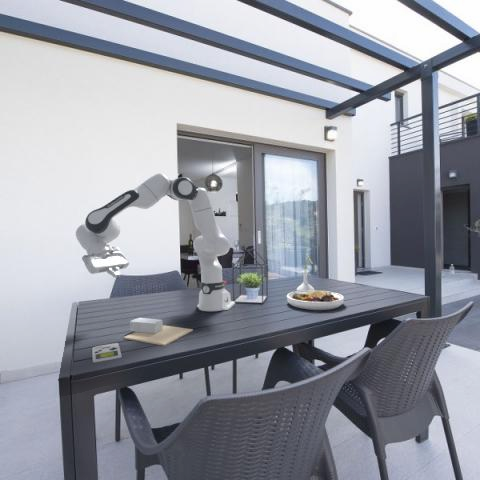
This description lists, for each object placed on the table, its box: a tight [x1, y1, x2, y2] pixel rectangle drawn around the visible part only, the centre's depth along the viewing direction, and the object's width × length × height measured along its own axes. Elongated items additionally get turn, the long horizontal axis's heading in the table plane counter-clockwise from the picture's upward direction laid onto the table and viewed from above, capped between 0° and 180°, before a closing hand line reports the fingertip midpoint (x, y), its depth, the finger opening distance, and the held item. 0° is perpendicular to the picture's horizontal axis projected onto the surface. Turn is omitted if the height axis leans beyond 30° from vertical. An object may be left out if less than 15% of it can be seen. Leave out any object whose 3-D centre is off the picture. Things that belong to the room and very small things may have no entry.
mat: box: [123, 324, 194, 347], centre depth 126 cm, size 18×20×1 cm
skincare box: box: [129, 317, 164, 334], centre depth 130 cm, size 6×4×12 cm
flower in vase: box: [296, 253, 315, 291], centre depth 203 cm, size 13×11×25 cm
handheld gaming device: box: [91, 342, 123, 364], centre depth 109 cm, size 9×1×15 cm
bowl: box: [286, 290, 345, 311], centre depth 171 cm, size 30×30×8 cm
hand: (117, 276), depth 137 cm, fingers closed
